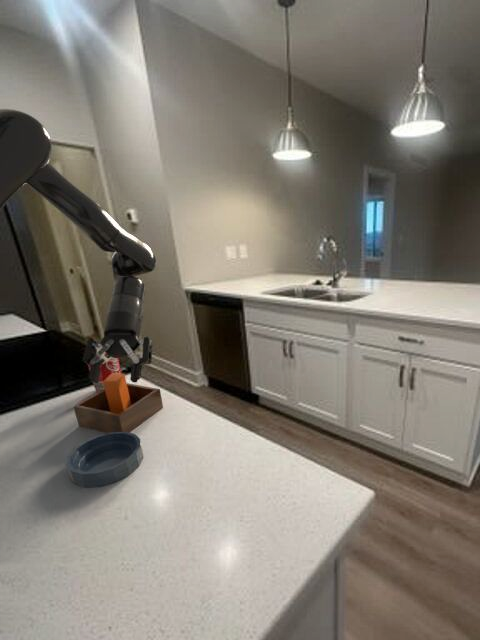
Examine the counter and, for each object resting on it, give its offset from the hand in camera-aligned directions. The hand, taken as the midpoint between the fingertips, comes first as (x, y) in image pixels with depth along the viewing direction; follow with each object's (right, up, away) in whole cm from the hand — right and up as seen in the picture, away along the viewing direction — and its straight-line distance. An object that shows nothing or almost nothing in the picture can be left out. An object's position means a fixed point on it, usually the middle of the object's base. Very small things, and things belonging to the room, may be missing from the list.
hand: (114, 381), depth 76 cm
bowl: (+5, -15, -11) cm, 20 cm away
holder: (0, -9, +4) cm, 10 cm away
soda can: (-10, -3, +17) cm, 20 cm away
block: (0, -8, +4) cm, 9 cm away
